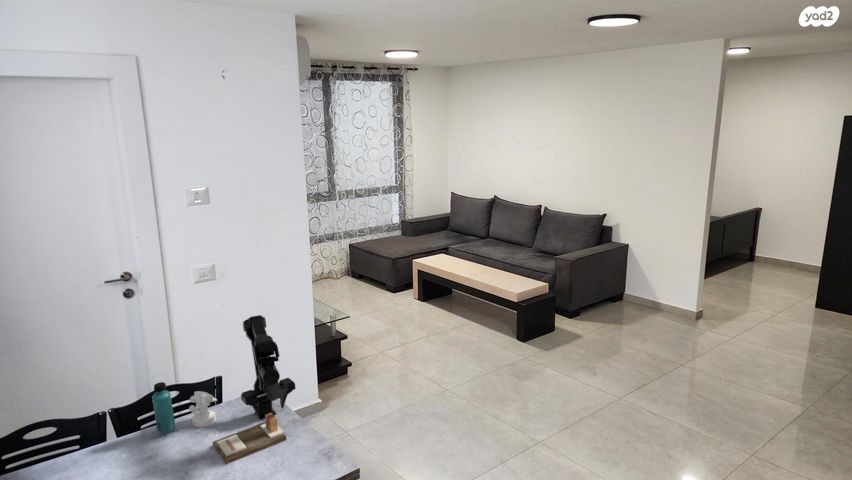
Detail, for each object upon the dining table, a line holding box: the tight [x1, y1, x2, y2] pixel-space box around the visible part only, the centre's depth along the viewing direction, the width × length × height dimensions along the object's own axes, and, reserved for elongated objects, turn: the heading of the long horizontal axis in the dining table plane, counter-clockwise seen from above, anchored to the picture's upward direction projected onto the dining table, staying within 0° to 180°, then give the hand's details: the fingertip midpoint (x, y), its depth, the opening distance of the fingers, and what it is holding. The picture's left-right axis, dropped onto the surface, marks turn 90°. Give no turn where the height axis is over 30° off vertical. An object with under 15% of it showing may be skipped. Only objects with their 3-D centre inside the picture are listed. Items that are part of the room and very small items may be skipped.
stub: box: [260, 413, 285, 438], centre depth 199 cm, size 10×5×6 cm, turn 39°
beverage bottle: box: [151, 381, 176, 434], centre depth 200 cm, size 6×7×20 cm
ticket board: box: [212, 421, 287, 465], centre depth 194 cm, size 14×22×2 cm, turn 128°
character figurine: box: [188, 390, 218, 428], centre depth 208 cm, size 9×10×12 cm
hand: (270, 411), depth 198 cm, fingers open, 9 cm apart
